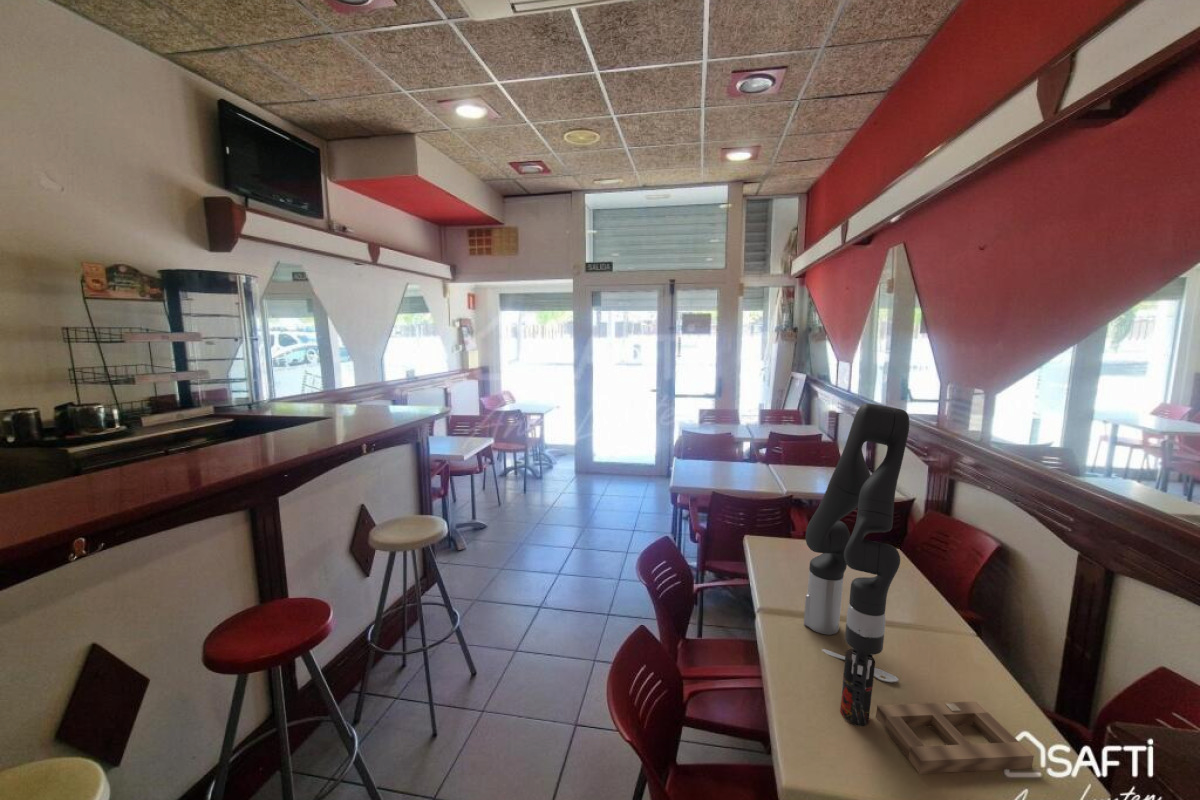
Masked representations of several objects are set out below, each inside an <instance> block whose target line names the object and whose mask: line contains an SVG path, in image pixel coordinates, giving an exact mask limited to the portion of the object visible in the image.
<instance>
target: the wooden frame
mask: <svg viewBox="0 0 1200 800" xmlns="http://www.w3.org/2000/svg"><path fill="white" fill-rule="evenodd" d="M875 718H876V720H877V721H878V722H879V723H880V724H881V725H882V727H883V728H884V729H885V731H886V732H887V733H888V734H889V736H890V737H891V739H892V740H893V741H894V742H895V744H896V745H897V746H898V747H899V749H900V750H901V751H902V753H903V754H904V756H906V758H907V759H908V761H910V763H911V764H912V767H914V768H915V770H916V771H917V772H918V773H919V774H922V775H923V774H940V773H959V772H962V773H963V772H982V771H983V772H984V771H985V772H986V771H1000V770H1001V771H1004V770H1026V769H1032V768H1033V762H1034V759H1035V758H1034V757H1035V755H1034V754H1033V753H1031V751H1030V750H1029V749H1028V748H1026V747H1025V746H1024V745H1023V744H1022V743H1021V742H1020V741H1019V740H1018V739H1017V738H1016V737H1014V735H1013V734H1012V733H1010V732H1009V731H1008V730H1007V729H1006V728H1005V726H1003V725H1002V724H1001V723H1000V722H999V721H997V720H996V718H994V717H993V716H992V715H991V714H990V713H989V712H988V711H987V710H986V709H985V708H984V707H983V706H982V705H980V703H979V702H978V701H976V700H975V701H955V702H953V701H952V702H950V701H949V702H933V703H932V702H930V703H929V702H927V703H907V704H906V703H903V704H902V703H901V704H881V705H878V704H877V705H876V713H875ZM955 726H973V727H974V728H975V729H976V730H977V731H979V733H980V734H982V735H983V736H984V738H985V739H986V740H988V742H989V743H987V742H986V743H970V742H969V741H968V740H967V739H966V737H964V735H962V733H961V732H960V731H959V730H958V729H957V728H956V727H955ZM925 727H926V728H927V727H931V729H932V730H933V731H934V732H935V733H936V735H938V736H939V738H940V739H941V740H942V741H943V742H944V743H945V744H943V745H940V744H939V745H924V743H923V742H922V741H921V740H920V738H919V737H918V736H917V735H916V734H915V732H914V731H913V730H912V729H911V728H925Z"/></svg>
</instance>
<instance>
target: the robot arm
mask: <svg viewBox="0 0 1200 800" xmlns="http://www.w3.org/2000/svg"><path fill="white" fill-rule="evenodd" d="M909 431H910V417H909V414H908V412H907V411H906V410H904V409H901V408H896V407H892V406H887V405H881V404H875V403H863V404H861V405H860V406H859V407H858V409H857V411H856V413H855V415H854V418H853V421H852V423H851V427H850V429H849V433H848V436H847V439H846V442H845V445H844V448H843V451H842V452H841V456H840V458H839V459H838V462H837V465H835V468H834V471H833V473H832V475H831V478H830V480H829V482H828V485H827V488H826V490H825V493H824V494H823V497H822V499H821V501H820V503H819V505H818V507H817V509H816V510H815V512H814V514H813V515H812V517H811V519H810V520H809V522H808V524H807V527H806V530H805V543H806V545H807V547H808V548H809V550H811V551H812V552H814V553H817V554H818V553H819V555H818V556H815V557H813V558H812V559H810V561H809V568H808V569H809V570H808V579H807V580H808V581H807V582H808V583H807V591H806V595H805V601H804V613H803V614H804V617H803V625H804V626H806V627H808V628H809V629H811V630H812V631H814V632H816V633H818V634H820V635H821V634H822V635H827V636H828V635H835V634H837V633H838V632H839V629H840V627H839V626H840V618H841V607H842V599H843V598H842V596H843V585H844V576H845V575H844V573H845V572H846V569H847V566H848V568H850V569H852V570H854V571H858V572H863V573H866V574H867V573H868V574H871V575H876V576H873V577H872V576H871V577H866V576H865V577H856V578H854V579H852V580H851V583H850V589H849V602H848V607H847V611H846V620H845V621H846V623H845V634H844V638H845V639H844V640H845V643H846V644H847V645H848V646H849V647H850V648H851V649H853V652H852V660H853V663H852V671H851V672H852V674H853V681H852V685H851V687H852V689H853V693H852V701H853V702H855V703H858V704H861V705H862V704H863V701H864V693H865V691H866V690H865V689H866V687H865V685H866V680H868V679H869V672H870V666H871V665H872V657H873V655H875V656H876V655H878V654H880V653H882V652H883V649H884V643H885V641H884V640H885V631H886V607H887V606H886V605H887V598H888V597H887V596H888V593H889V589H890V586H891V584H892V582H893V579H894V578H895V576H896V575H897V572H898V571H899V568H900V564H901V556H900V552H899V550H898V549H897V547H895V546H894V545H892V544H889V543H886V542H885V543H884V542H879V541H875V540H870V539H866V538H865V537H866V536H867V535H868V534H871V533H888V532H890V531H891V530H892V528H893V526H894V525H893V523H894V513H895V512H894V511H895V499H896V498H895V497H896V491H897V485H898V480H899V476H900V472H901V467H902V464H903V460H904V455H905V450H906V446H907V443H908V442H907V441H908V437H909ZM866 442H868V443H869V442H870V443H874V444H879V445H884V446H887V448H886V449H887V450H886V453H885V457H884V458H883V461H882V462H881V463H880V464H879V466H878V467H877V468H876V469H875V470H874V471H873V473H871V472H870V469H869V467H868V465H867V463H866V460H865V457H864V453H863V446H864V444H865V443H866ZM856 509H857V514H856V521H855V523H854V527H853V530H852V531H851V534H850V531H849V528H848V526H847V524H846V523H844V521H841V520H842V519H843V518H845V517H846V516H848V515H849V514H851V513H852V512H854V511H855V510H856ZM873 658H874V657H873ZM855 660H856V663H855ZM867 664H868V665H867ZM857 670H858V671H857ZM862 672H863V673H862ZM866 673H867V674H866ZM855 681H859V682H861V683H863V684H861V683H859V682H855Z"/></svg>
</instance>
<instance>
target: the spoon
mask: <svg viewBox="0 0 1200 800" xmlns="http://www.w3.org/2000/svg"><path fill="white" fill-rule="evenodd" d="M821 651H822V652H824V653H825V654H826V655H828V656H830V657H833V658H836V659H839V660H843V661H845V655H841V654H839V653H837V652H834V651H831V650H828V649H825V648H822V649H821ZM881 676H883V677H884V678H883V677H881ZM874 677H875V678H876V679H877V680H879V681H881V682H886V683H898V682H899V681H900V680H899V678H898V677H897V676H895V675H893V674H892V673H889V672H887V671H885V670H883V669H880V668H877V667H875V669H874Z"/></svg>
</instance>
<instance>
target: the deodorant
mask: <svg viewBox="0 0 1200 800" xmlns="http://www.w3.org/2000/svg"><path fill="white" fill-rule="evenodd" d="M852 652H853V648H850V649H847V650H846V651H845V655H844V657H845V660H844V666H843V677H842V687H841V698H840V706H839V708H840V710H839V711H840V715H841V717H842V718H843V719H844V720H845V721H847V722H848V723H850V724H852V725H854V726H857V727H865V726H867V725H869V722H870V714H871V707H872V705H871V703H872V698H873V697H872V695H873V694H872V693H873V687H874V686H873V685H874V679H875V678H874V677H875V676H874V669H875V668H876V659H875V658H874V657H872V665H871V666H870V672H869V679H868V680H866V685H865V687H866V689H865V690H866V691H865V693H864V701H863V704H862V705H861V704H858V703H855V702H853V701H852V693H853V689H852V687H851V685H852V681H853V674H852V672H851V671H852V663H853V660H852ZM855 663H856V660H855ZM867 665H868V664H867ZM857 671H858V670H857ZM862 673H863V672H862ZM866 674H867V673H866ZM855 682H859V681H855ZM859 683H861V682H859ZM861 684H863V683H861Z"/></svg>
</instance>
